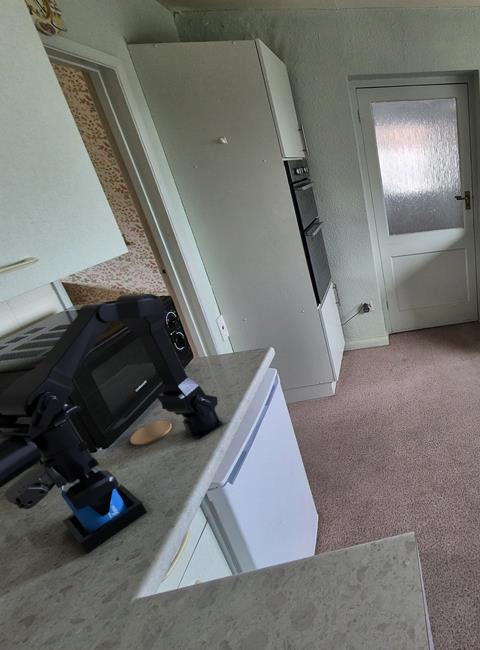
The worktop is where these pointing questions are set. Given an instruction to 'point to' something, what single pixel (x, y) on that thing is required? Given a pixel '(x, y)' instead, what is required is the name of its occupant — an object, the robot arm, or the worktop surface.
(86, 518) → the beverage can
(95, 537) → the black rectangular open frame
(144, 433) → the coaster
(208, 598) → the worktop surface
